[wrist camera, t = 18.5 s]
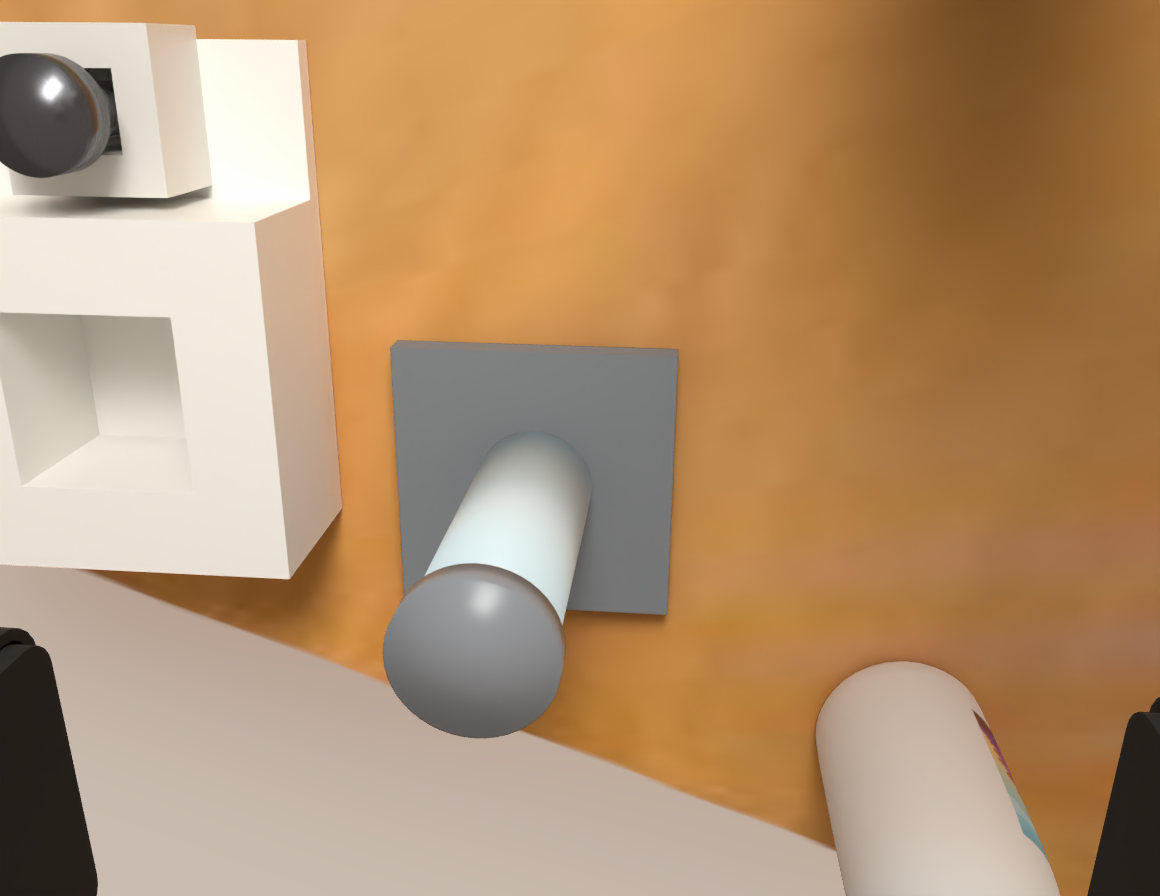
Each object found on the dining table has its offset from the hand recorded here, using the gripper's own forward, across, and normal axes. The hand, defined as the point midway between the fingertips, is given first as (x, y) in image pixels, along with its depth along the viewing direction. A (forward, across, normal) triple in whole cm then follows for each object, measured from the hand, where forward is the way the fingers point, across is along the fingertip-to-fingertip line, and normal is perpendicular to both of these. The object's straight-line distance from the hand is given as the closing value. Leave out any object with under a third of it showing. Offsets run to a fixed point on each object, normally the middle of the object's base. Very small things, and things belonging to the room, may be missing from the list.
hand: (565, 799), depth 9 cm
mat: (+36, +5, +12) cm, 38 cm away
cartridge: (+34, +5, +12) cm, 37 cm away
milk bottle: (+36, -12, +24) cm, 45 cm away
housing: (+35, +21, +4) cm, 42 cm away
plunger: (+34, +21, -3) cm, 40 cm away
